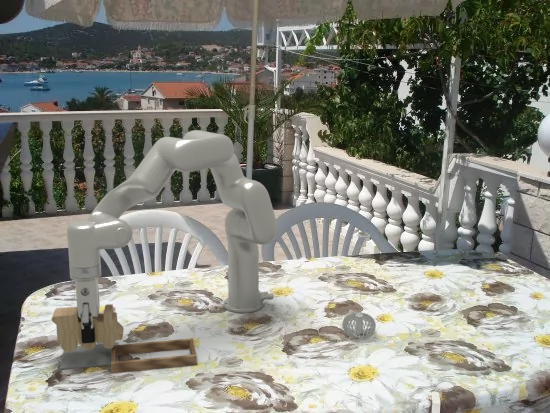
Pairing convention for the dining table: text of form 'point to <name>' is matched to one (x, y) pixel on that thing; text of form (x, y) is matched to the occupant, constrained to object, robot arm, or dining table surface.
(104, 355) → the slate mat
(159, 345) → the pocket frame
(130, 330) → the dining table surface
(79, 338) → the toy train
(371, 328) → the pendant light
